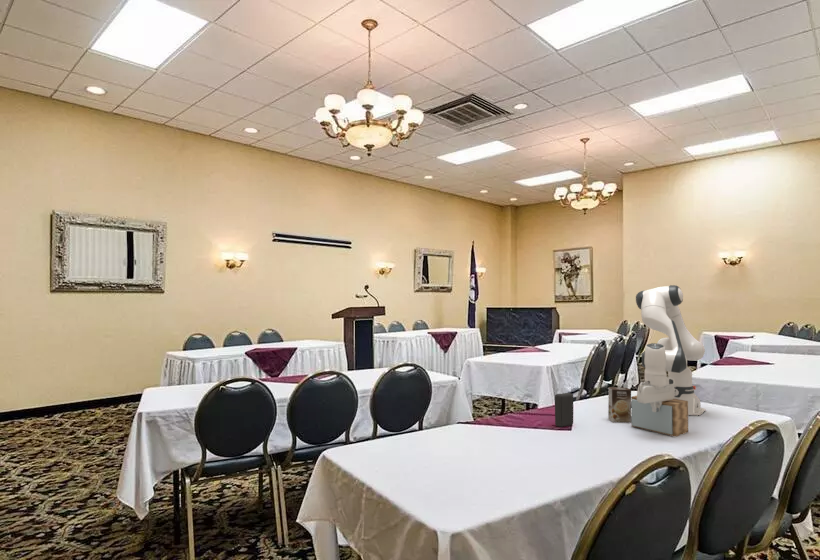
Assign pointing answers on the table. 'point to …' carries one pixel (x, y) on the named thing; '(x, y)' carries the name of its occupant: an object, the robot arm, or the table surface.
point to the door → (651, 417)
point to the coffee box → (619, 405)
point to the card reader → (563, 409)
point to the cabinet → (675, 416)
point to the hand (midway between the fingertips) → (655, 411)
